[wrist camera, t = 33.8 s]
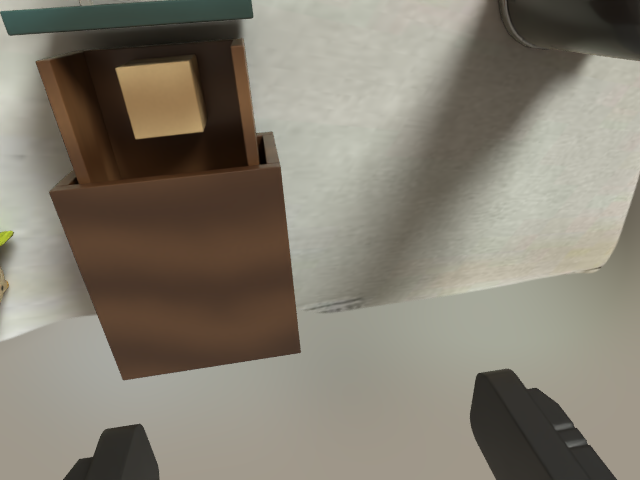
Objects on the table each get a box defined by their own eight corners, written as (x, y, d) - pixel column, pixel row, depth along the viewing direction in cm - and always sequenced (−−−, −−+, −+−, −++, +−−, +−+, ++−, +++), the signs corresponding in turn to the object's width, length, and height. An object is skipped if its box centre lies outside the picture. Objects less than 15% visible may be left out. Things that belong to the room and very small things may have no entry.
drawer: (15, -105, 27) (-59, -142, 20) (235, -114, 28) (233, -151, 22) (117, 213, 37) (90, 257, 31) (273, 195, 39) (279, 233, 32)
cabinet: (93, 149, 35) (48, 191, 27) (272, 131, 37) (280, 166, 29) (145, 310, 44) (122, 380, 35) (290, 290, 45) (300, 353, 37)
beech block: (208, 117, 34) (203, 132, 30) (148, 124, 33) (135, 140, 29) (196, 53, 31) (188, 60, 27) (131, 60, 31) (114, 67, 27)
